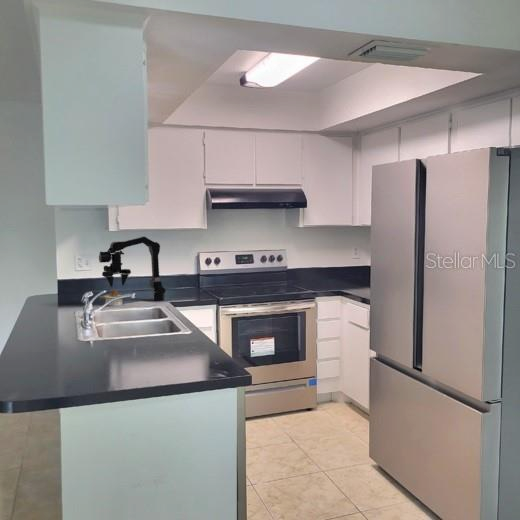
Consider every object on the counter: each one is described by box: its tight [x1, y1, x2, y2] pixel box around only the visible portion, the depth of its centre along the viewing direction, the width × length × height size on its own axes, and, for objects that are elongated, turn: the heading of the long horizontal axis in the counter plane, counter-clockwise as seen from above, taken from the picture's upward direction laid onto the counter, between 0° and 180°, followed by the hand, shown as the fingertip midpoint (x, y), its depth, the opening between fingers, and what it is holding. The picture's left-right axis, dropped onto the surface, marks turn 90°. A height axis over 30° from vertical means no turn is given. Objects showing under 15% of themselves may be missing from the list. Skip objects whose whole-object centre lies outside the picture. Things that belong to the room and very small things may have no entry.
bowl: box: [105, 298, 123, 306], centre depth 328 cm, size 10×10×5 cm
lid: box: [98, 288, 122, 300], centre depth 328 cm, size 13×13×5 cm
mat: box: [122, 300, 158, 308], centre depth 329 cm, size 17×17×1 cm
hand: (117, 286), depth 328 cm, fingers open, 9 cm apart
